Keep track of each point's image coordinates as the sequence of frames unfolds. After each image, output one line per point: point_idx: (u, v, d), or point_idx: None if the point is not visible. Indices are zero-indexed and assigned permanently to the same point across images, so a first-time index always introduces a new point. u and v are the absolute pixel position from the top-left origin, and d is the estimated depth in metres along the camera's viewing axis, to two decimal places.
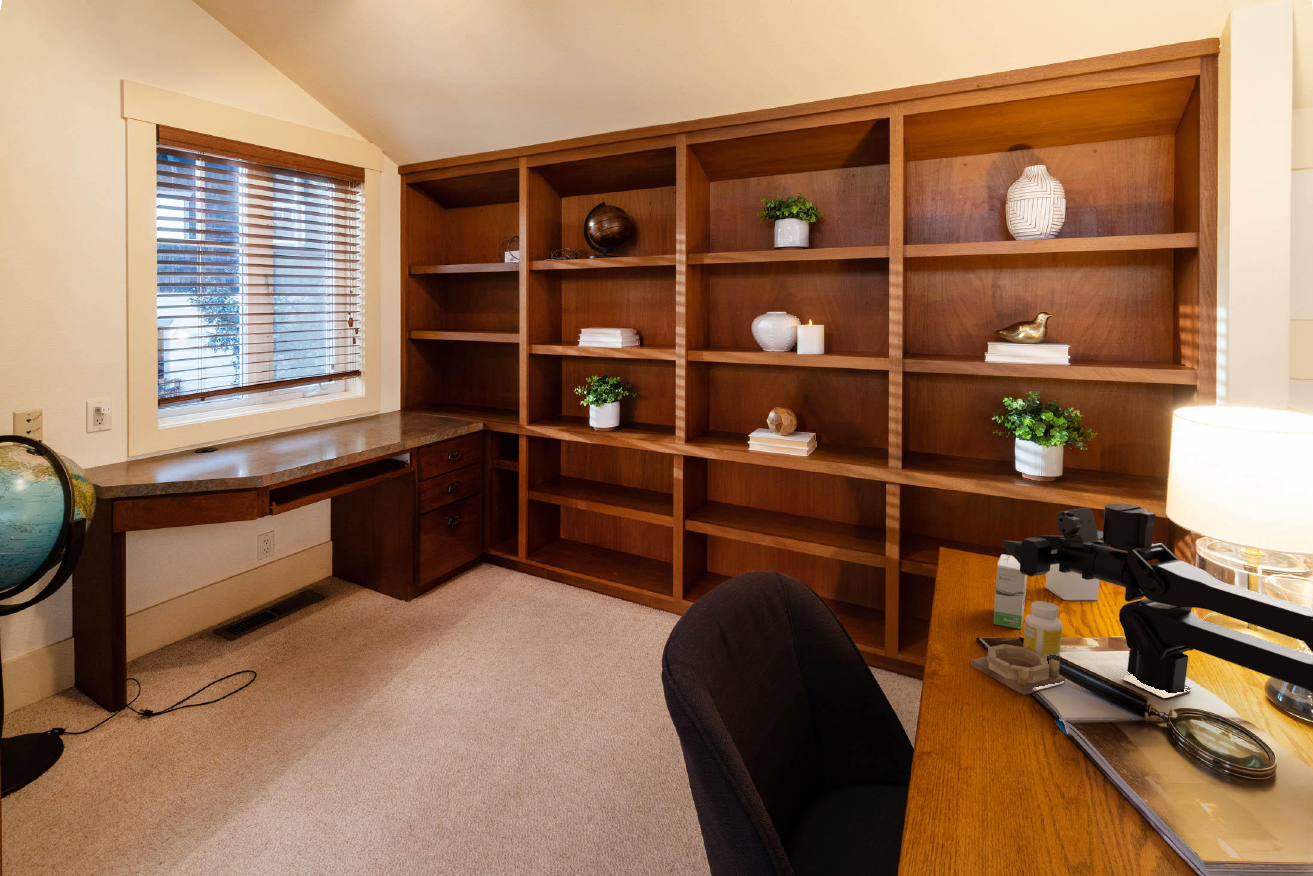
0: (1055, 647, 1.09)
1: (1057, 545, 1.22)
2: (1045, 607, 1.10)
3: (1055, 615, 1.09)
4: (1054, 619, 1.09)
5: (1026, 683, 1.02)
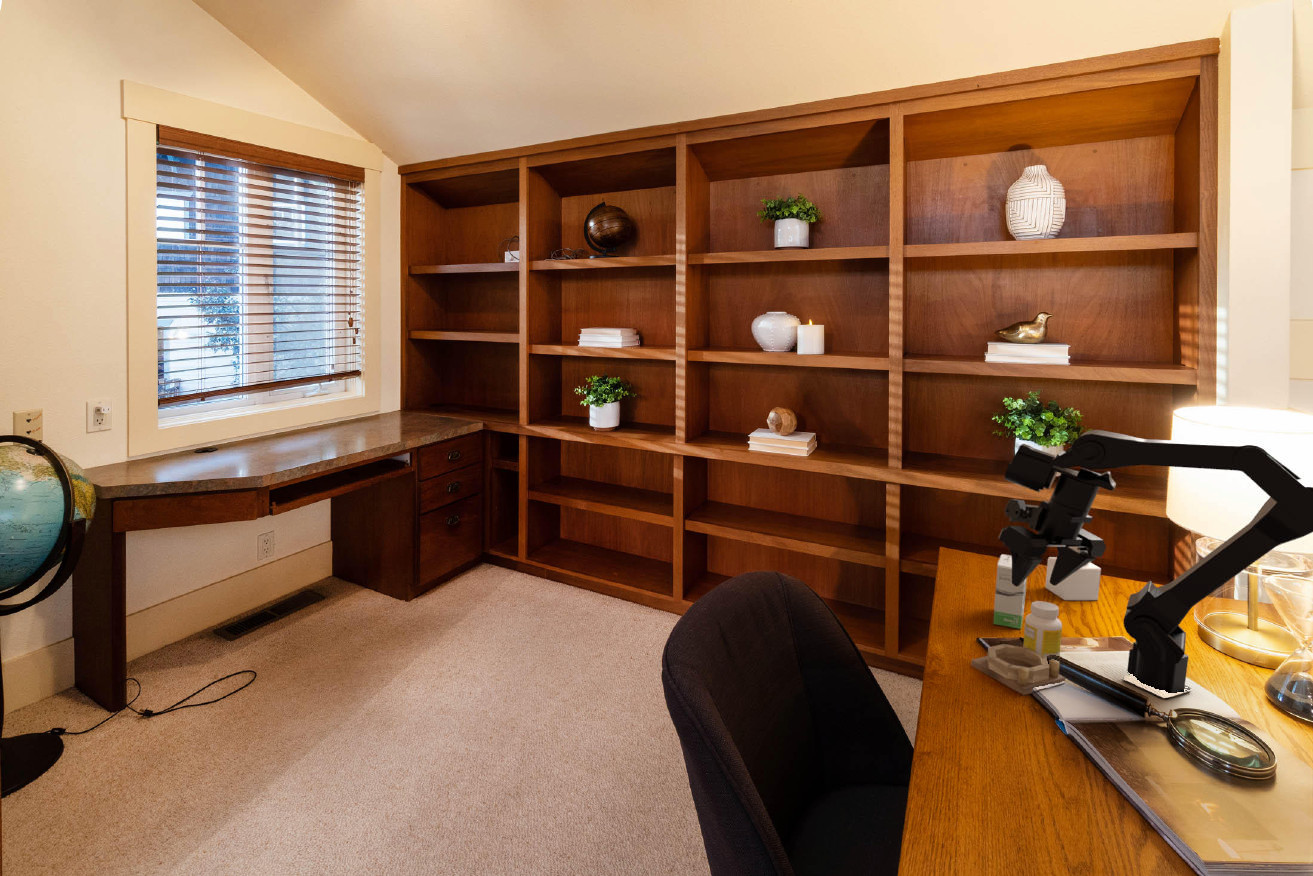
0: (1055, 647, 1.09)
1: (1064, 566, 1.13)
2: (1045, 607, 1.10)
3: (1055, 615, 1.09)
4: (1054, 619, 1.09)
5: (1026, 683, 1.02)
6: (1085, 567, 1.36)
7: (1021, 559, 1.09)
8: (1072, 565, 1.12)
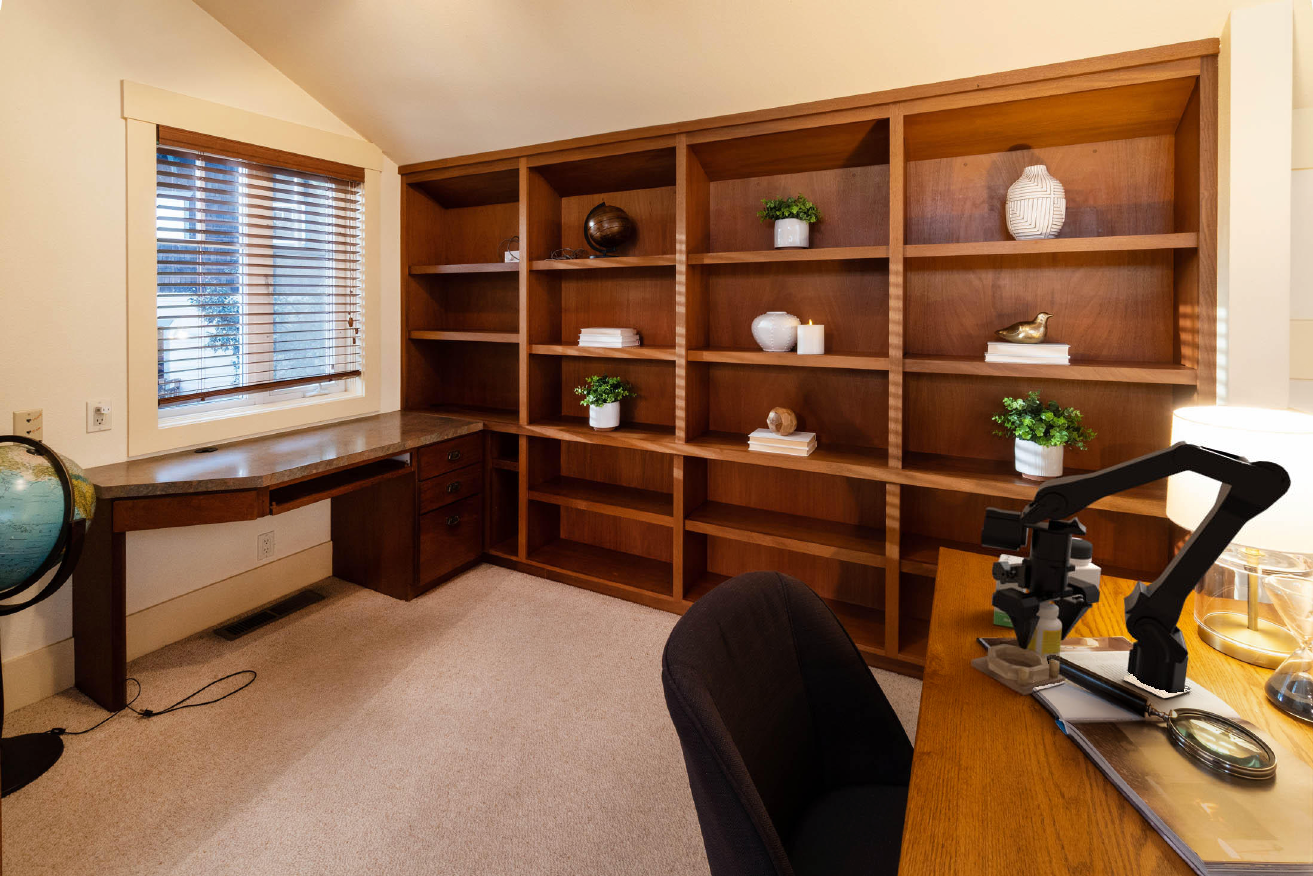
0: (1055, 647, 1.09)
1: (1065, 619, 1.12)
2: (1046, 607, 1.10)
3: (1055, 615, 1.09)
4: (1054, 619, 1.09)
5: (1026, 683, 1.02)
6: (1085, 567, 1.36)
7: (1020, 621, 1.09)
8: (1072, 616, 1.11)
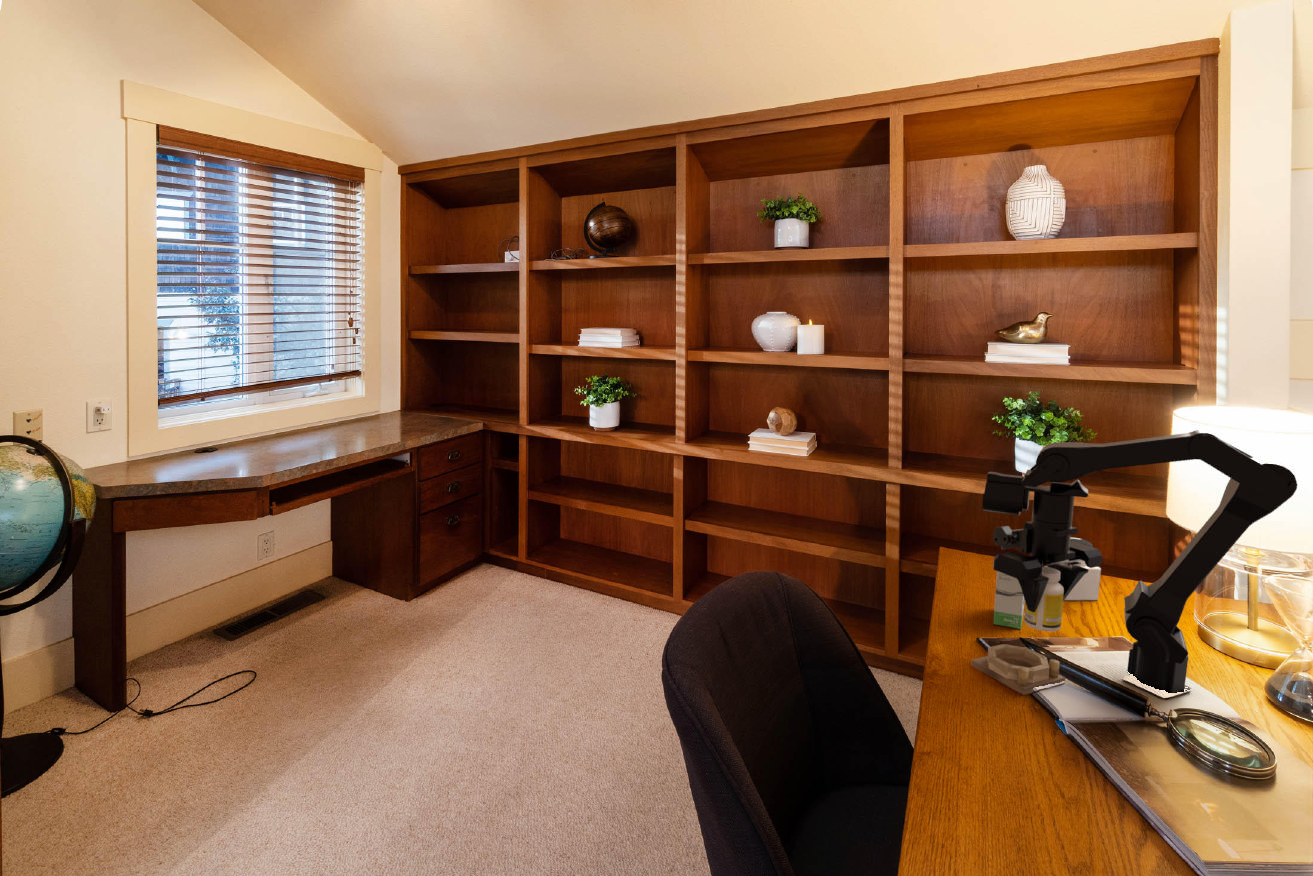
0: (1057, 611, 1.08)
1: None
2: (1047, 572, 1.09)
3: (1057, 579, 1.08)
4: (1056, 583, 1.09)
5: (1026, 683, 1.02)
6: (1085, 567, 1.36)
7: (1029, 583, 1.08)
8: (1068, 582, 1.10)
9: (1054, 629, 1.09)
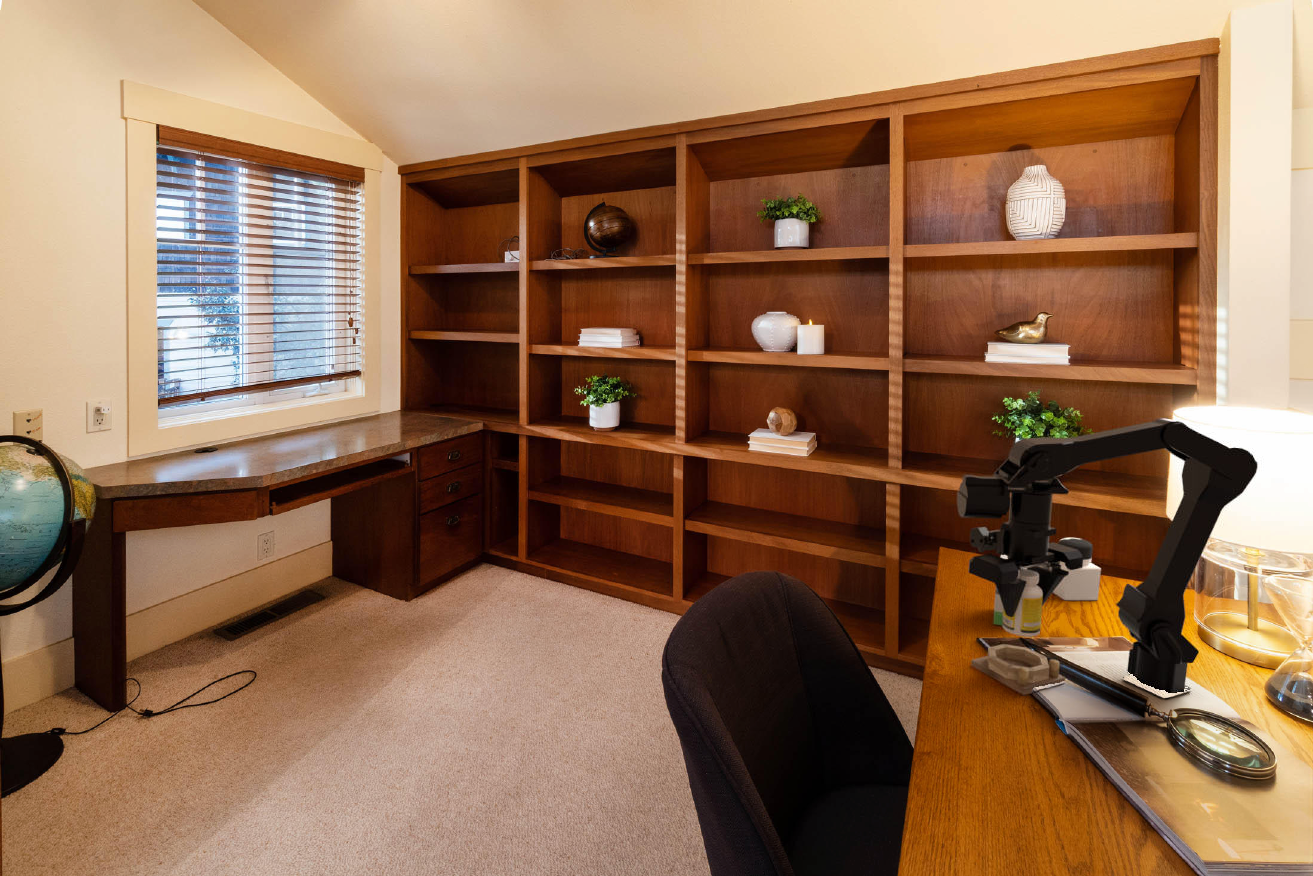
0: (1035, 616, 1.03)
1: None
2: (1025, 574, 1.04)
3: (1035, 582, 1.03)
4: (1034, 586, 1.04)
5: (1026, 683, 1.02)
6: (1085, 567, 1.36)
7: (1006, 587, 1.03)
8: (1047, 585, 1.05)
9: (1033, 634, 1.04)
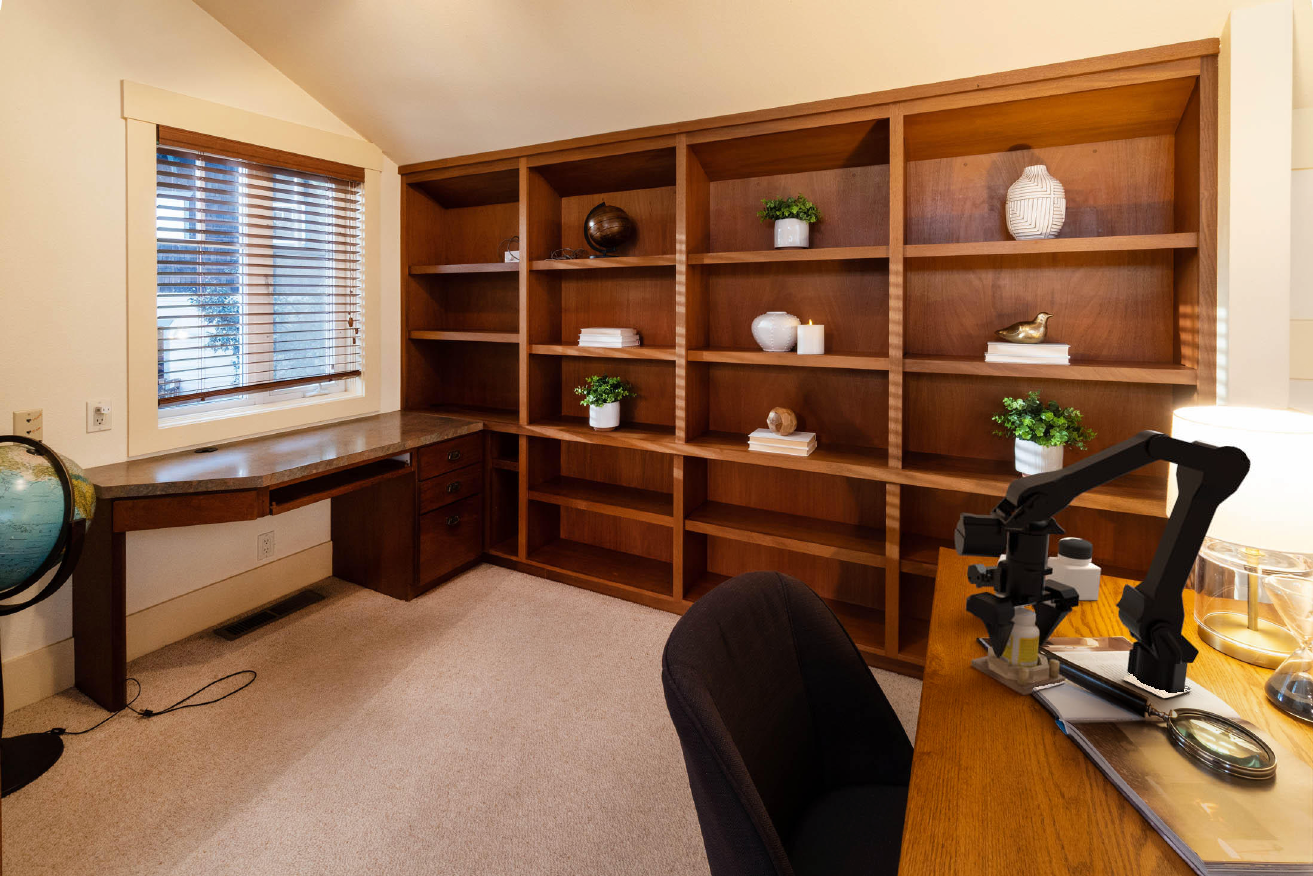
0: (1032, 655, 1.04)
1: (1044, 624, 1.07)
2: (1022, 614, 1.05)
3: (1032, 622, 1.04)
4: (1031, 626, 1.05)
5: (1026, 683, 1.02)
6: (1085, 567, 1.36)
7: (995, 627, 1.04)
8: (1051, 621, 1.06)
9: None
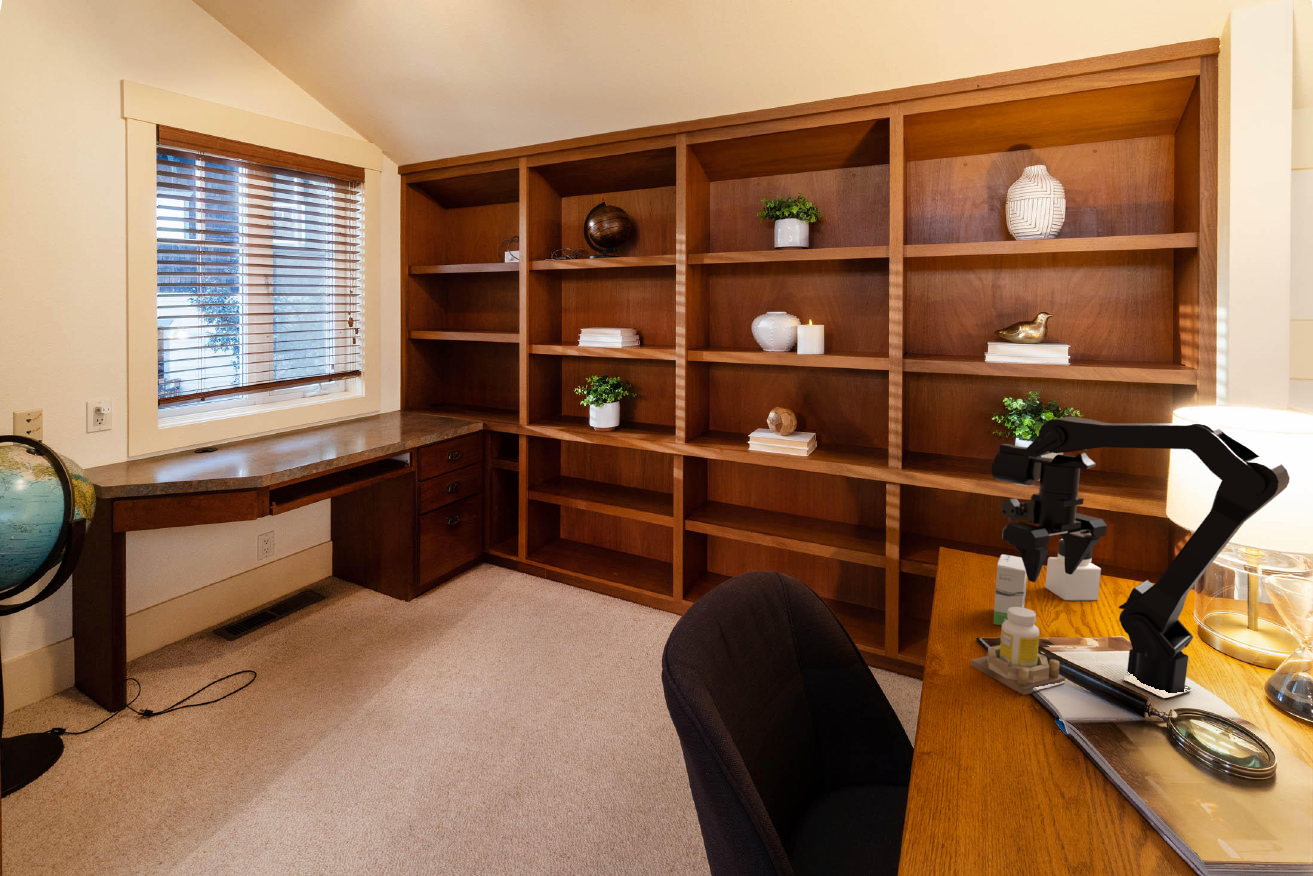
0: (1032, 655, 1.04)
1: (1073, 553, 1.15)
2: (1022, 614, 1.05)
3: (1032, 622, 1.04)
4: (1031, 626, 1.05)
5: (1026, 683, 1.02)
6: (1085, 567, 1.36)
7: (1029, 554, 1.12)
8: (1080, 550, 1.14)
9: None
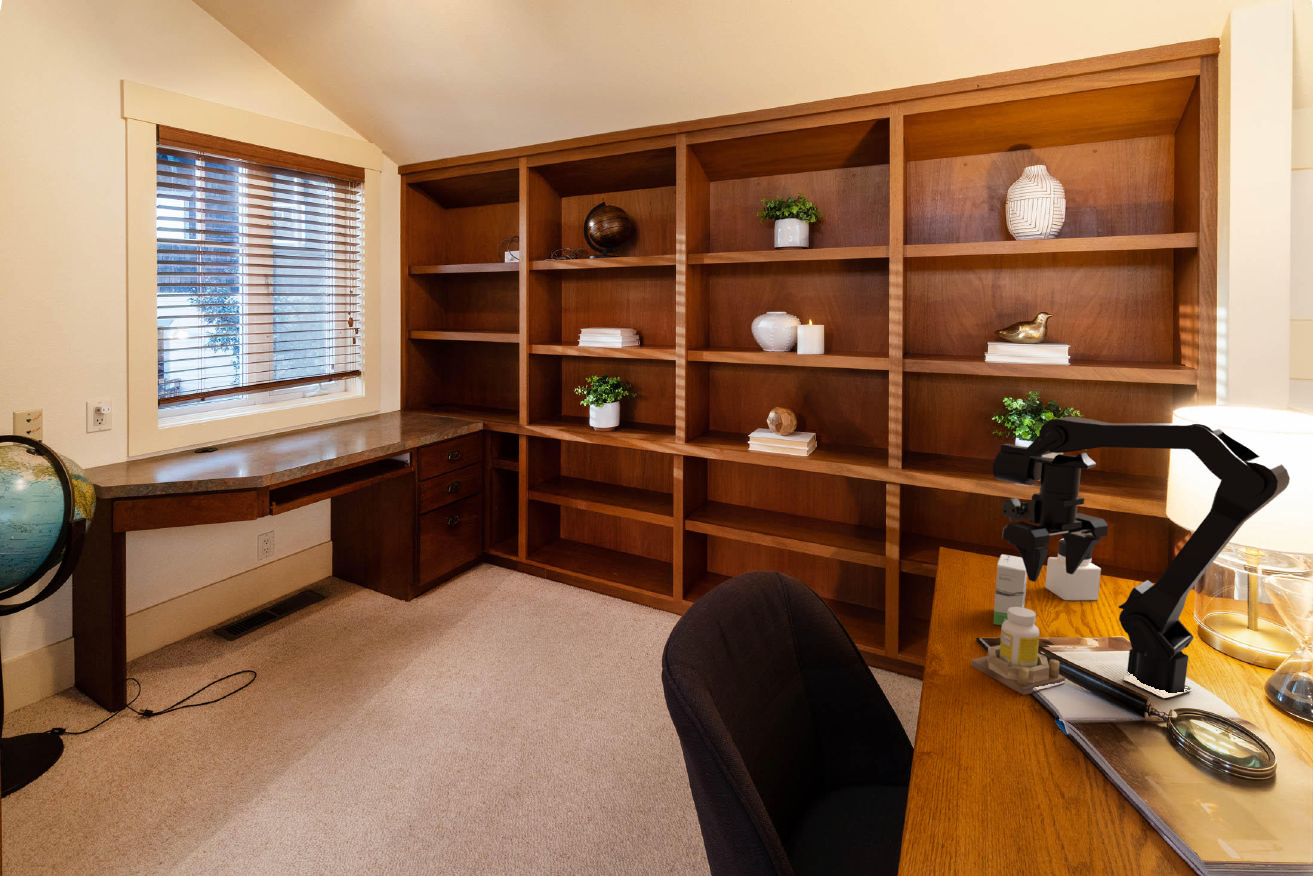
0: (1032, 655, 1.04)
1: (1074, 553, 1.15)
2: (1022, 614, 1.05)
3: (1032, 622, 1.04)
4: (1031, 626, 1.05)
5: (1026, 683, 1.02)
6: (1085, 567, 1.36)
7: (1030, 553, 1.12)
8: (1081, 550, 1.14)
9: None
